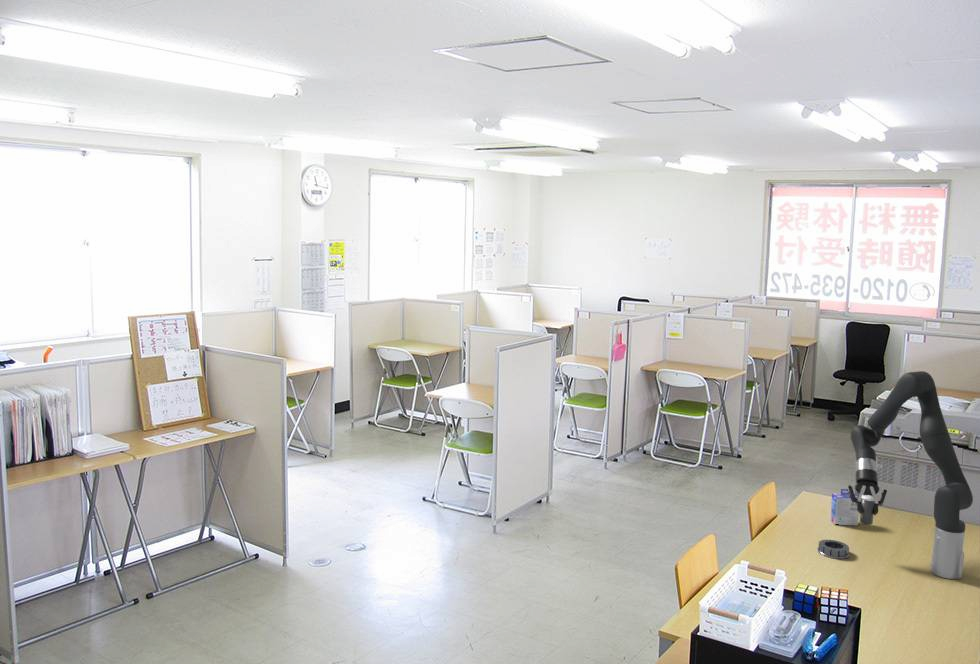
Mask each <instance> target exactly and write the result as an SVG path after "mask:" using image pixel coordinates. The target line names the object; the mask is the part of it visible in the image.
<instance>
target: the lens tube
mask: <svg viewBox="0 0 980 664" xmlns="http://www.w3.org/2000/svg"><path fill="white" fill-rule="evenodd" d="M861 498H862V500H861V502H862V513H859V515H860V516H859V523H860V524H864V525H868V526H870V525H873V524H874V503H875V497H874V496H871V495H862V496H861Z"/></svg>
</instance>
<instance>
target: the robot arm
mask: <svg viewBox="0 0 980 664" xmlns="http://www.w3.org/2000/svg"><path fill="white" fill-rule="evenodd" d="M935 383H936V382H935V380H934V378H933V376H932V375H931V373H929V372H927V371H924V370H923V371H922V370H921V371H920V370H918V371H910V372H906V373H904V374H902V375H901V377H900V378H898V381H897V382H896V383H895V385H894V387H893V388H892V390H891V391H890V393H889V394H888V396H887V397H886V398H885V400H884V401H883V403H882V404H880V405H879V407H878V408H877V409H876V410H875V411H874V413H872V415H871V416H869V418H868V420H867V425H868V426H869V427H867V426H864V425H862V424H857V425H856V424H855V426H853V427H852V429H851V431H850V439H851V443H852V446H853V449H854V451H855V461H856V462H855V485H851V484H850V485H848V486H847V488H846V489H847V490H848V491H847V493H849V495H850V498H851V501H852V502H855V503H857V511H858V512H859V514H860V513H862V502H861V501H862V498H861V496H862V495H871V496H874V497H875V503H874V514H873V516H876V515H878V513H879V506H881V507H882V506H883V504H884V503H885V502H884V501H885V499H886V496H887V493H888V490H887V489H881V488H880V487H879V482H878V466H877V454H876V450H875V449H874V447H876V446H877V445H878V444H879V443H880V441H881V439H882V437H883V436H884V433H885V431H886V429H887V428H889V426H890V425H891V424H892V423H893V422H894V421H895V420H896V419H897V417H898V415H899V412H900V409H901V407H902V406H903V405H904V404H905V403H906V402H907V401H909V400H910V399H912V398H917V400H918V404H919V408H920V412H921V415H920V422H919V436H920V440H921V444H922V446H923V449H924V451H925V453H926V454H927V456H928V457H929V458H930V459H931V461H932V462H933V463H934V464H935V465H936V466H937V468H939V470H940V472H941V474H942V477H943V480H944V483H945V485H942V486H940V487H939V488H938V489H936V492H935V494H934V501H933V503H934V504H933V517H934V522H935V526H934V538H933V544H932V545H933V546H932V555H931V563H930V572H931V573H932V574H933V575H935V576H937V577H941V578H944V579H948V580H949V579H951V580H957V579H960V580H961V579H963V569H964V568H963V567H964V560H965V553H964V543H965V541H964V540H965V534H966V533H965V532H966V523H965V522H964V521H963V520H961V519H960V513H961V512H960V511H962V510H966V509H969V508H970V507H971V506H972V505H973V500H974V497H973V493H972V490H971V487H970V485H969V484H968V481H967V479H966V477H965V475H964V473H963V470H962V468H961V465H960V463H959V459H958V457H957V454H956V451H955V448H954V445H953V441H952V439H951V436H950V432H949V429H948V427H947V425H946V420H945V418H944V415H943V412H942V409H941V405H940V402H939V401H940V400H939V396H938V391H937V388H936V384H935ZM855 491H856V492H857V493H858V499H857V498H856V497H855V495H856V494H855ZM878 493H879V495H880V496H881V497H880V499H879V500H878V497H877V494H878Z"/></svg>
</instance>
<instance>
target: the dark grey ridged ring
mask: <svg viewBox="0 0 980 664" xmlns="http://www.w3.org/2000/svg"><path fill="white" fill-rule="evenodd" d="M817 546H818V547H817V550H818V551H817V553H818V554H819V555H821V554H822V555H821V556H823V555H824V557H827V558H829V557H830V559H834V558H835V560H845V559H847V558H849V557H850V547H849V545H848V544H847V543H845V542H842V541H838V540H835V539H822V540H818V545H817Z"/></svg>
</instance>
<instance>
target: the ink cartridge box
mask: <svg viewBox="0 0 980 664" xmlns="http://www.w3.org/2000/svg"><path fill="white" fill-rule="evenodd" d="M847 489H848V488H841V489H840V493H832V494H831V508H830V509H831V511H830V522H831V521H832V522H833V523H834V524H839V525H838V526H858V525H859V515H860V513H859V512H858V511H857V503H855V502H852V501H851V498H850V495H849V493H848V490H847ZM844 491H845V492H844ZM855 497H856V498H857V499H858V497H859V495H857V494H855ZM832 522H831V523H832ZM833 523H832V524H833ZM834 524H833V525H834Z"/></svg>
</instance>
